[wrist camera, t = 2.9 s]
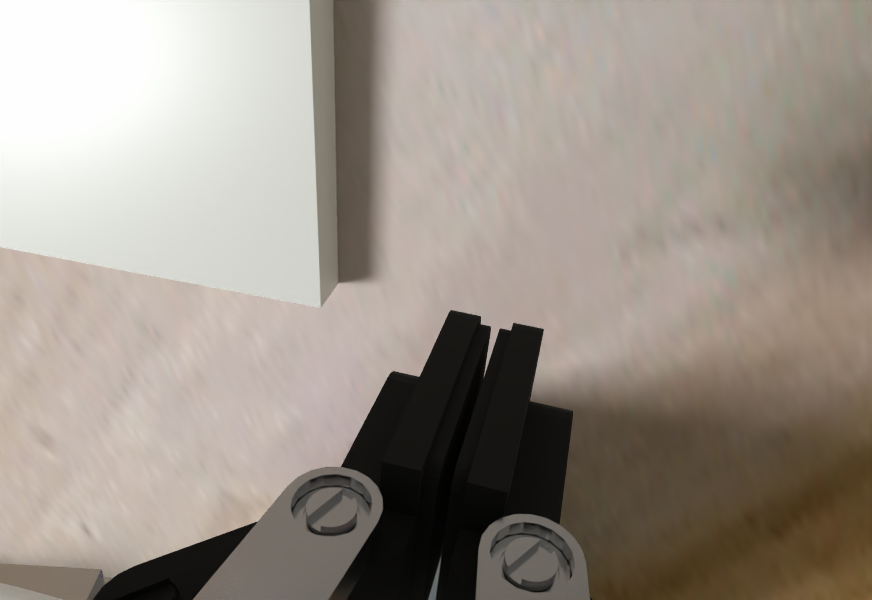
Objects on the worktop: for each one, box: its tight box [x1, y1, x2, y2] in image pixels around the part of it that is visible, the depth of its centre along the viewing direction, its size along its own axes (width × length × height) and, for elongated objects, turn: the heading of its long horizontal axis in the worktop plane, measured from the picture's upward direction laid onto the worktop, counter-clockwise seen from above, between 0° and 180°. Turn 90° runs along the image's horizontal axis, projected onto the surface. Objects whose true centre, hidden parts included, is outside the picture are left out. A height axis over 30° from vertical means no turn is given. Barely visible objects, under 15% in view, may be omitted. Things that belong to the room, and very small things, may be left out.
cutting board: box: [0, 0, 338, 308], centre depth 20 cm, size 9×16×2 cm, turn 86°
